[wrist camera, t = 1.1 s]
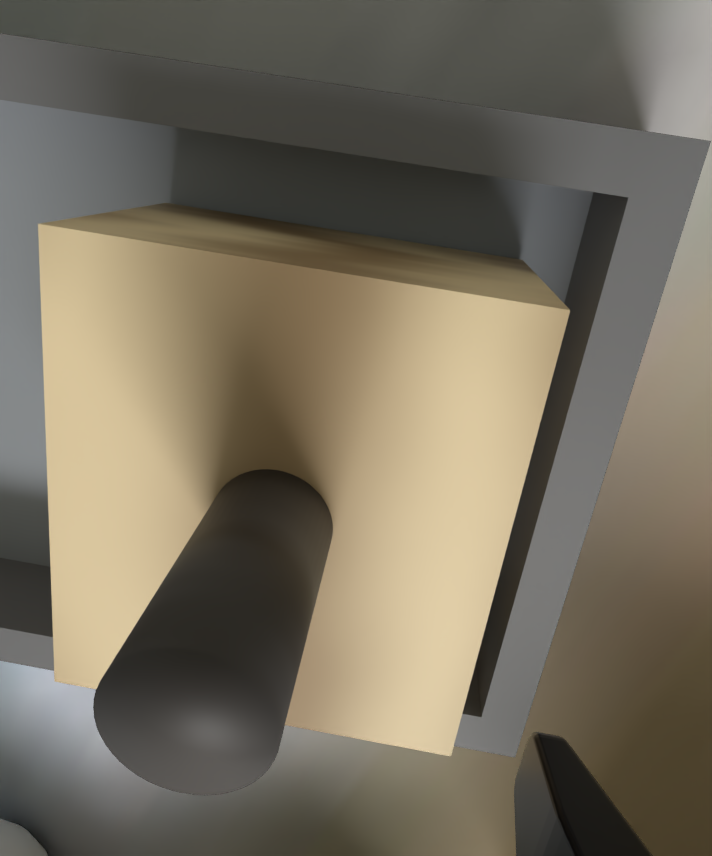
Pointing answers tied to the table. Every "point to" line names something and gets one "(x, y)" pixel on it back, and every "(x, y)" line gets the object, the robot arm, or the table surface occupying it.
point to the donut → (18, 841)
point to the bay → (358, 213)
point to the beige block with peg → (278, 478)
